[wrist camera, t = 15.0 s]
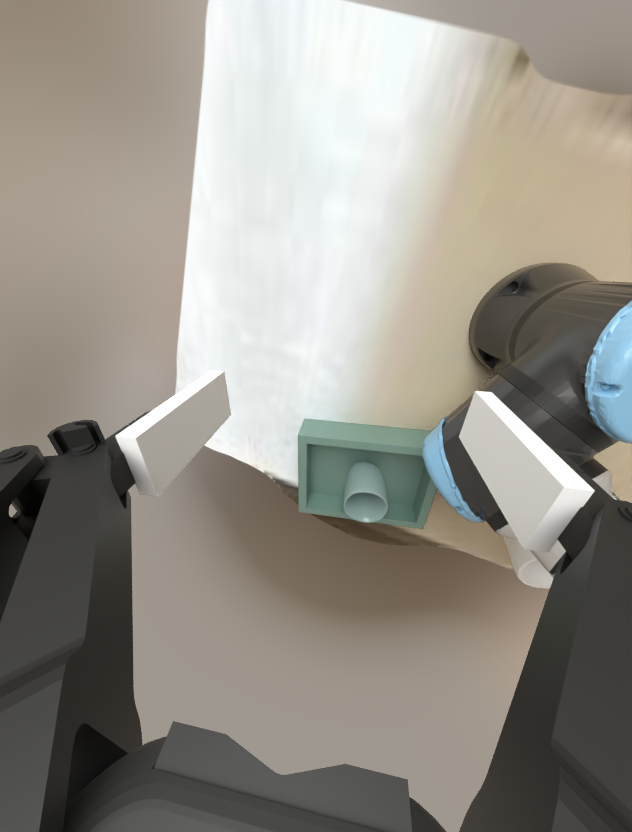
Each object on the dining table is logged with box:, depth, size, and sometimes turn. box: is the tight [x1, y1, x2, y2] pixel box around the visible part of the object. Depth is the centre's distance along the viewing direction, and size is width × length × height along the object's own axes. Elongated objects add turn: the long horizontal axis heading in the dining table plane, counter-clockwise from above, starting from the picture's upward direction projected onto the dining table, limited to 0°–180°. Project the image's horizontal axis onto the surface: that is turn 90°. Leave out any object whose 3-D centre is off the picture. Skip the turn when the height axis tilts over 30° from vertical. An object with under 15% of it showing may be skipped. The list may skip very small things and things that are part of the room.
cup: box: [343, 461, 388, 523], centre depth 50 cm, size 8×8×10 cm
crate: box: [298, 419, 437, 529], centre depth 53 cm, size 26×20×6 cm
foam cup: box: [503, 536, 553, 589], centre depth 50 cm, size 10×9×13 cm
